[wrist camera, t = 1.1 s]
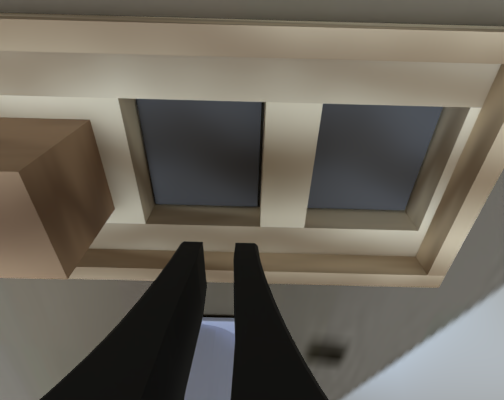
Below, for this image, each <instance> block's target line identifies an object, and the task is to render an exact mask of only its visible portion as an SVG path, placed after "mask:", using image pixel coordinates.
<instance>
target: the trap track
mask: <svg viewBox="0 0 504 400" xmlns="http://www.w3.org/2000/svg"><path fill="white" fill-rule="evenodd" d="M136 100H137V104H136ZM262 102H264V124H263V146H262V168H261V191H260V207H258V181H259V156H260V131H261V106H262ZM137 105H138V109H137ZM138 111H139V114H138ZM139 116H140V120H139ZM0 117H7V118H45V119H84V120H90V122H91V125H92V129H93V132H94V136H95V139H96V143H97V146H98V150H99V154H100V157H101V161H102V164H103V168H104V171H105V175H106V179H107V182H108V186H109V189H110V193H111V196H112V200H113V203H114V207H115V210H114V211H113V213H112V214H111V216H110V217H109V219H108V220H107V222H106V223H105V225H104V226H103V228H102V229H101V231H100V232H99V234H98V235H97V237H96V238H95V240H94V241H93V243H92V244H91V245H90V247H89V248H88V250H87V251H86V253H85V254H84V256H83V257H82V259H81V260H80V262H79V263H78V265H77V266H76V268H75V269H74V271H73V272H72V274H71V275H70V277H69V278H68V279H99V280H140V281H155V279H156V278H157V277H158V276H159V274H160V273H161V271H162V270H163V269H164V267H165V266H166V265H167V263H168V262H169V260H170V259H171V257H172V256H173V255H174V253H175V252H176V250H177V249H178V247H179V246H180V244H181V243H182V242H184V241H189V242H203V250H204V261H205V272H206V282H222V283H234V265H233V259H234V251H235V243H255V244H256V245H257V246H258V250H259V256H260V260H261V264H262V267H263V271H264V274H265V277H266V280H267V282H268V284H304V285H345V286H386V287H428V288H439V286H440V284H441V283H442V281H443V279H444V277H445V275H446V273H447V272H448V270H449V268H450V266H451V264H452V262H453V261H454V259H455V257H456V255H457V253H458V251H459V250H460V248H461V246H462V244H463V242H464V240H465V238H466V237H467V235H468V233H469V231H470V229H471V227H472V226H473V224H474V222H475V220H476V218H477V216H478V215H479V213H480V211H481V209H482V207H483V205H484V204H485V202H486V200H487V198H488V196H489V194H490V193H491V191H492V189H493V187H494V185H495V183H496V182H497V180H498V178H499V176H500V174H501V172H502V171H503V169H504V26H472V25H435V24H397V23H360V22H323V21H286V20H249V19H212V18H175V17H138V16H101V15H64V14H27V13H0ZM140 122H141V125H140ZM141 127H142V130H141ZM142 132H143V136H142ZM143 138H144V141H143ZM144 143H145V146H144ZM145 148H146V152H145ZM146 154H147V157H146ZM147 159H148V162H147ZM148 164H149V168H148ZM149 170H150V173H149ZM150 175H151V178H150ZM151 180H152V184H151ZM152 186H153V189H152ZM153 191H154V194H153ZM154 197H155V200H154ZM155 202H156V204H155Z"/></svg>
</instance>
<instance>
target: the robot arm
mask: <svg viewBox="0 0 504 400" xmlns="http://www.w3.org/2000/svg"><path fill="white" fill-rule="evenodd" d="M233 265H234V318H216V317H203V312H204V304H205V296H206V288H207V283H206V272H205V261H204V250H203V242H189V241H184V242H182V243H181V244H180V246H179V247H178V249H177V250H176V252H175V253H174V255H173V256H172V257H171V259H170V260H169V262H168V263H167V265H166V266H165V267H164V269H163V270H162V271H161V273H160V274H159V276H158V277H157V278H156V279H155V281H154V282H153V283H152V284H151V286H150V287H149V288H148V290H147V291H146V292H145V293H144V295H143V296H142V297H141V298H140V300H139V301H138V302H137V303H136V304H135V305H134V307H133V308H132V309H131V310H130V311H129V312H128V313H127V315H126V316H125V317H124V318H123V319H122V320H121V322H120V323H119V324H118V325H117V326H116V327H115V328H114V329H113V330H112V331H111V332H110V333H109V334H108V336H107V337H106V338H105V339H104V340H103V341H102V342H101V343H100V344H99V345H98V346H97V347H96V348H95V349H94V350H93V351H92V352H91V353H90V354H89V355H88V356H87V357H86V358H85V359H84V360H83V361H81V362H80V363H79V364H78V365H77V366H76V367H75V368H74V369H73V370H72V371H71V372H70V373H69V374H68V375H67V376H66V377H64V378H63V379H62V380H61V381H60V382H59V383H58V384H57V385H56V386H55V387H53V388H52V389H51V390H50V391H49V392H48V393H47V394H46V395H44V396H43V397H42V398H41V399H40V400H328V398H327V397H326V395H325V394H324V392H323V391H322V389H321V388H320V386H319V384H318V383H317V381H316V379H315V378H314V376H313V374H312V373H311V371H310V369H309V368H308V366H307V364H306V362H305V361H304V359H303V357H302V355H301V353H300V352H299V350H298V348H297V346H296V344H295V342H294V341H293V339H292V337H291V335H290V333H289V331H288V329H287V327H286V325H285V323H284V320H283V318H282V316H281V314H280V312H279V310H278V307H277V305H276V303H275V300H274V298H273V295H272V293H271V290H270V288H269V285H268V282H267V280H266V277H265V274H264V271H263V267H262V264H261V260H260V256H259V250H258V246H257V245H256V244H255V243H235V251H234V259H233Z"/></svg>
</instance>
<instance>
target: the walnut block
mask: <svg viewBox="0 0 504 400" xmlns="http://www.w3.org/2000/svg"><path fill="white" fill-rule="evenodd" d="M114 210H115V207H114V203H113V200H112V196H111V193H110V189H109V186H108V182H107V179H106V175H105V171H104V168H103V164H102V161H101V157H100V154H99V150H98V146H97V143H96V139H95V136H94V132H93V129H92V125H91V122H90V120H84V119H45V118H7V117H0V278H30V279H68V278H69V277H70V275H71V274H72V272H73V271H74V269H75V268H76V266H77V265H78V263H79V262H80V260H81V259H82V257H83V256H84V254H85V253H86V251H87V250H88V248H89V247H90V245H91V244H92V243H93V241H94V240H95V238H96V237H97V235H98V234H99V232H100V231H101V229H102V228H103V226H104V225H105V223H106V222H107V220H108V219H109V217H110V216H111V214H112V213H113V211H114Z"/></svg>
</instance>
